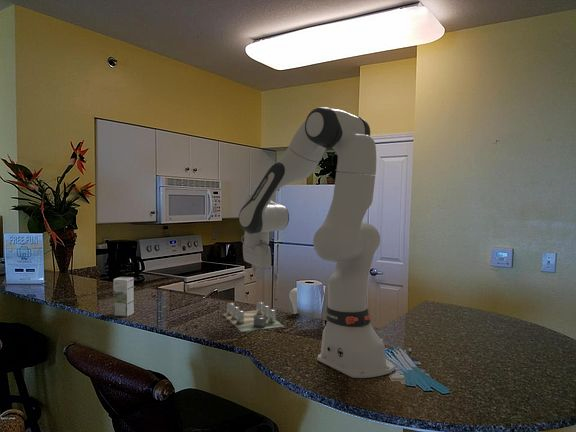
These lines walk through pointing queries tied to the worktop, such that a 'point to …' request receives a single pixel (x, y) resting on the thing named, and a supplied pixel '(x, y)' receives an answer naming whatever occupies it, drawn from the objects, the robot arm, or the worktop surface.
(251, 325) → the board
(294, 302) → the lightbulb
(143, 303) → the worktop surface
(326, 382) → the worktop surface
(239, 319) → the spacers
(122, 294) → the syrup box
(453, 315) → the worktop surface
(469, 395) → the worktop surface
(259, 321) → the dark metal plug
